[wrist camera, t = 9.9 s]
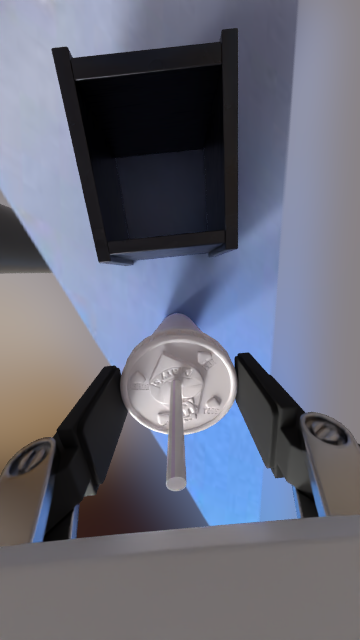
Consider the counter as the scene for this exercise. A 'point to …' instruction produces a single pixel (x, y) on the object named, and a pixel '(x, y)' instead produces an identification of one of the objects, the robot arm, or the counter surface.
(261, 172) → the counter surface
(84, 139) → the bottle stand
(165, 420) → the smoothie
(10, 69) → the counter surface
